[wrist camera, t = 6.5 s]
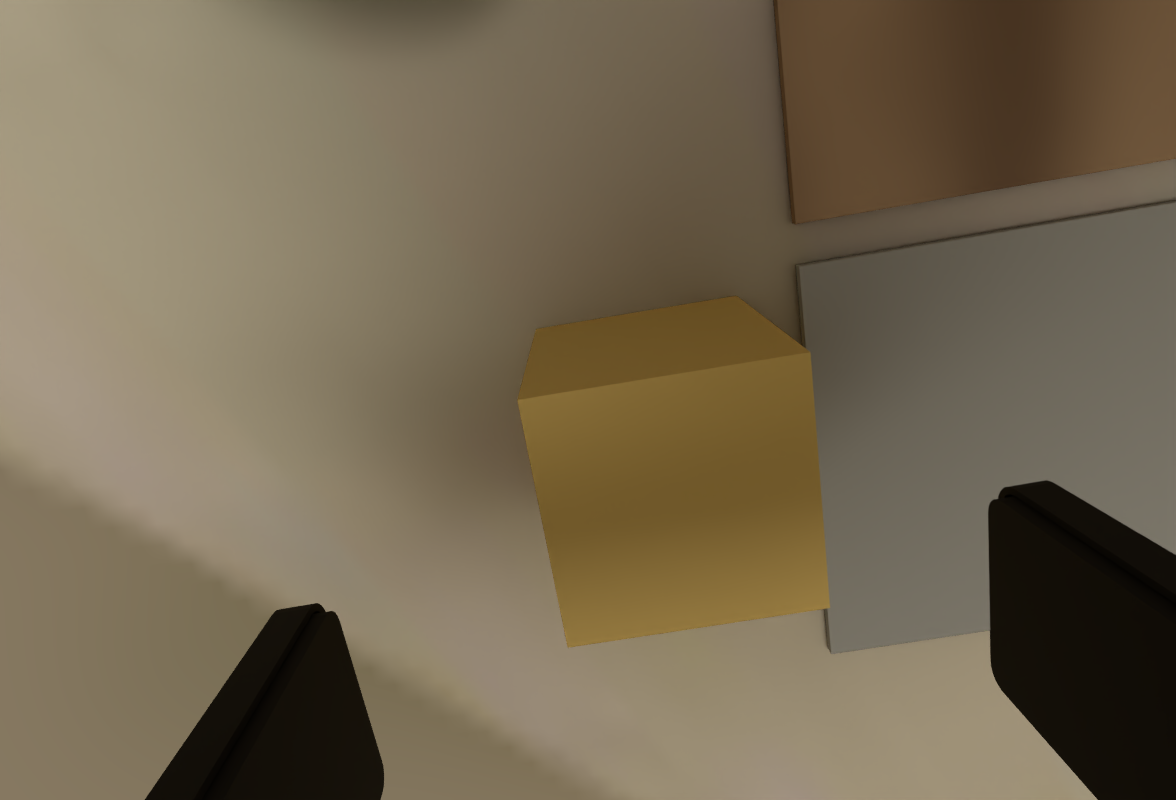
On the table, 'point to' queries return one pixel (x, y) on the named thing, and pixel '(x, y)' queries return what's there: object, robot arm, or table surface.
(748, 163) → the table surface
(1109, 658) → the robot arm
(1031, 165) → the walnut mat
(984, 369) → the grey mat
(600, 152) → the table surface
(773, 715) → the table surface
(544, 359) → the mustard block
